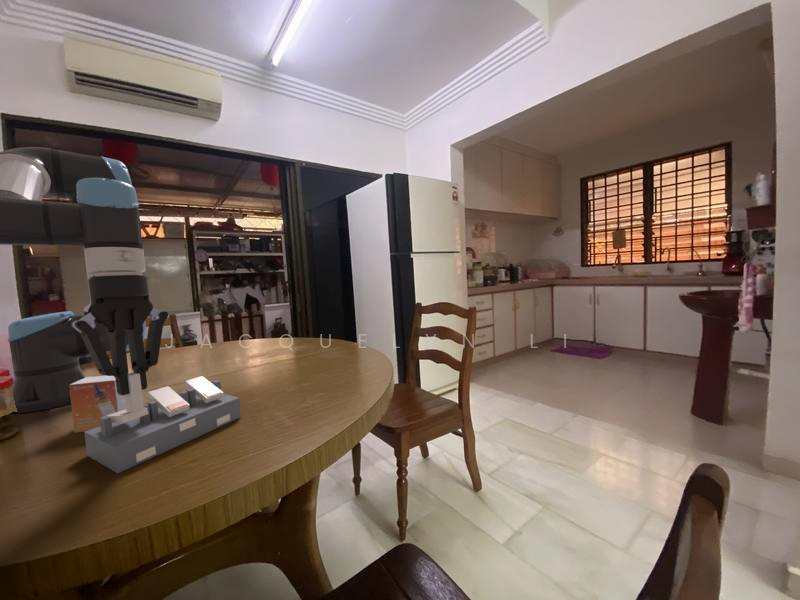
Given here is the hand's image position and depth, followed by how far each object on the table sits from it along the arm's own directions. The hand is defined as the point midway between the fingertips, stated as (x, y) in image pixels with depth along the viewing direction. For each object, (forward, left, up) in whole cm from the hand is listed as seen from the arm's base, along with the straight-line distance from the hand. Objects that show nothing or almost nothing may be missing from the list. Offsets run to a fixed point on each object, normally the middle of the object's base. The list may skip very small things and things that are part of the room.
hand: (135, 410), depth 56 cm
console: (-4, +7, -9) cm, 12 cm away
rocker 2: (-4, +7, -2) cm, 8 cm away
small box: (-23, +3, -9) cm, 25 cm away
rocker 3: (-4, +14, -2) cm, 15 cm away
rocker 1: (-4, 0, -2) cm, 4 cm away
